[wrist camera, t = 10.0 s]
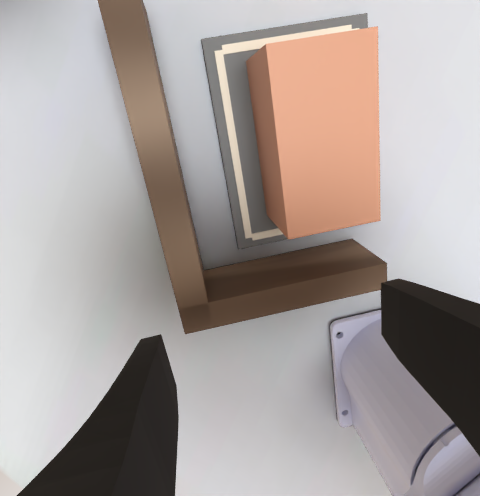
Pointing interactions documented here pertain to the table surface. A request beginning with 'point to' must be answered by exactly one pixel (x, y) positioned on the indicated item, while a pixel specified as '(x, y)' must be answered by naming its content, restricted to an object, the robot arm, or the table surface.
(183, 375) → the table surface
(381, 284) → the robot arm
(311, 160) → the terracotta block
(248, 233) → the pad
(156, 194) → the corner wall
